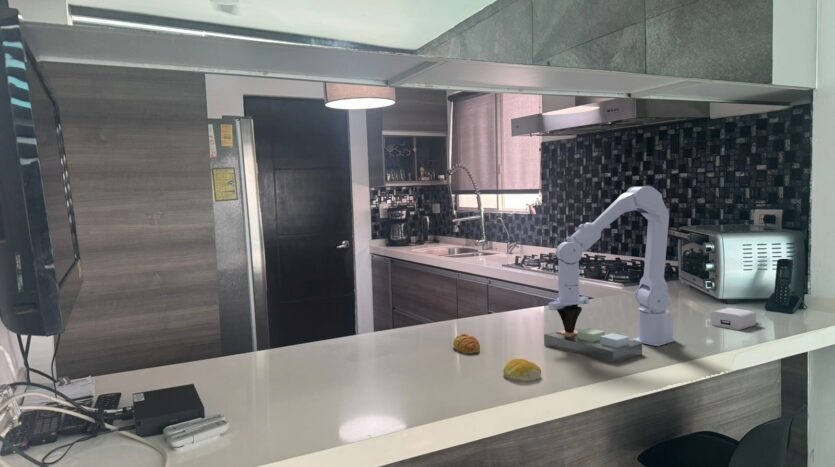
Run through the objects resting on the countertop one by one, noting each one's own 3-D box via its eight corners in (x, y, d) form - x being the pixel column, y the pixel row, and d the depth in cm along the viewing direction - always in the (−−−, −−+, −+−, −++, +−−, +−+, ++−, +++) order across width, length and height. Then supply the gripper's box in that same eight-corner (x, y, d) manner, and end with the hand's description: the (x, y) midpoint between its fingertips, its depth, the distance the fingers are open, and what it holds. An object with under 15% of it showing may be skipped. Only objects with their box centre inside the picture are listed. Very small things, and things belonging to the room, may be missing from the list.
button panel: (572, 337, 164) (572, 327, 164) (642, 354, 145) (642, 343, 145) (544, 344, 157) (544, 334, 157) (613, 363, 138) (613, 351, 138)
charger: (765, 323, 174) (740, 331, 166) (735, 318, 182) (710, 325, 174) (765, 308, 174) (741, 315, 166) (735, 304, 182) (710, 310, 173)
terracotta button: (568, 339, 161) (568, 328, 161) (582, 342, 157) (582, 332, 157) (556, 342, 158) (556, 331, 158) (570, 345, 154) (570, 335, 154)
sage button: (589, 338, 155) (589, 328, 154) (604, 342, 150) (604, 331, 150) (577, 341, 152) (577, 331, 152) (592, 345, 148) (592, 334, 147)
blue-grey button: (612, 344, 148) (612, 333, 148) (628, 348, 144) (628, 336, 144) (600, 347, 146) (600, 336, 145) (616, 351, 141) (616, 340, 141)
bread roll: (525, 369, 137) (525, 353, 137) (546, 379, 129) (546, 362, 128) (496, 373, 134) (496, 357, 134) (516, 385, 126) (515, 367, 125)
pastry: (486, 353, 151) (485, 339, 151) (463, 356, 149) (463, 342, 149) (472, 345, 160) (472, 332, 160) (450, 348, 158) (450, 334, 158)
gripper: (574, 280, 164) (575, 325, 165) (540, 285, 156) (540, 333, 157) (594, 282, 158) (594, 329, 159) (559, 288, 150) (560, 338, 151)
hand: (569, 331), depth 157 cm, fingers closed, pressing on terracotta button
